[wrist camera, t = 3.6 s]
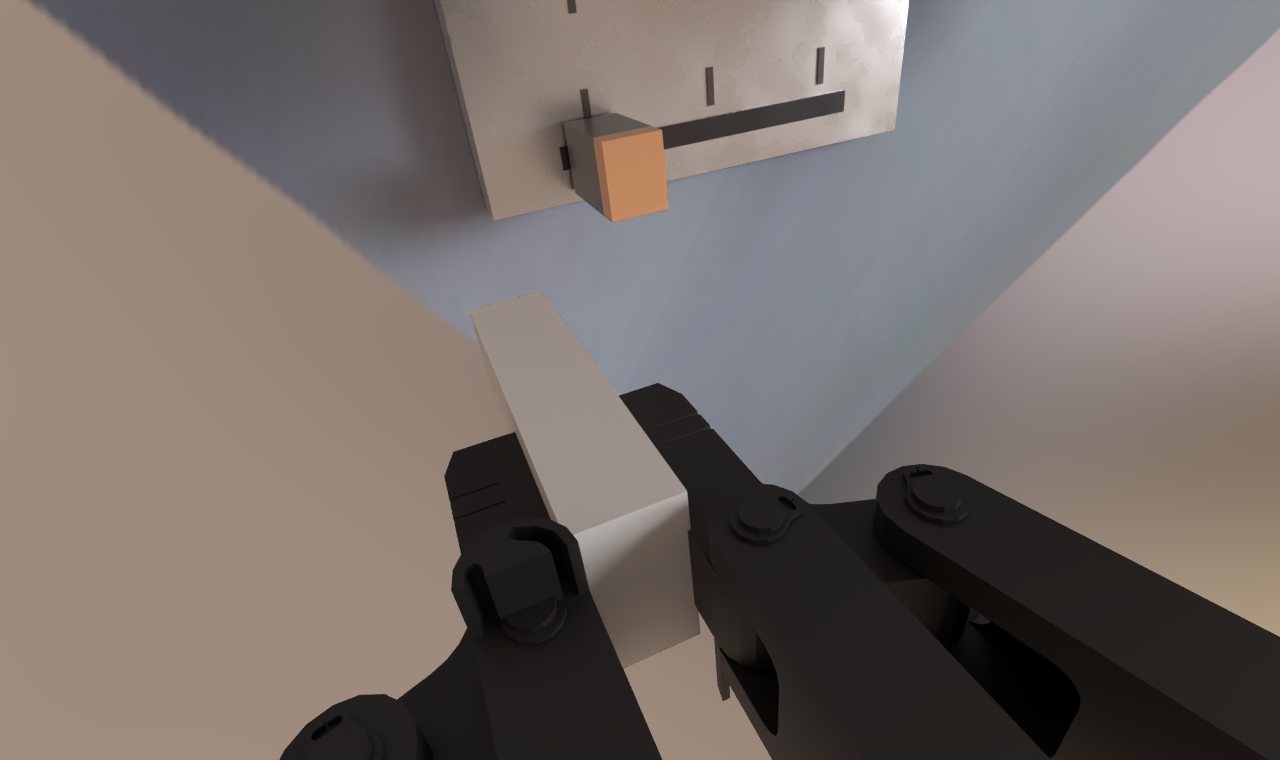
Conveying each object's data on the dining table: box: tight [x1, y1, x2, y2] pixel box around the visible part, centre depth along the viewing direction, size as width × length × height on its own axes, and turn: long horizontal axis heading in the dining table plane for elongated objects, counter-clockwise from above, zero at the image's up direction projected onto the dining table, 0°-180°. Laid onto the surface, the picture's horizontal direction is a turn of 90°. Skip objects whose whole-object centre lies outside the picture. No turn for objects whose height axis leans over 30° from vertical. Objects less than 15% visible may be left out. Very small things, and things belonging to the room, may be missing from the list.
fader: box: [564, 113, 669, 222], centre depth 25 cm, size 3×2×5 cm
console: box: [434, 0, 909, 221], centre depth 28 cm, size 12×22×2 cm, turn 97°
